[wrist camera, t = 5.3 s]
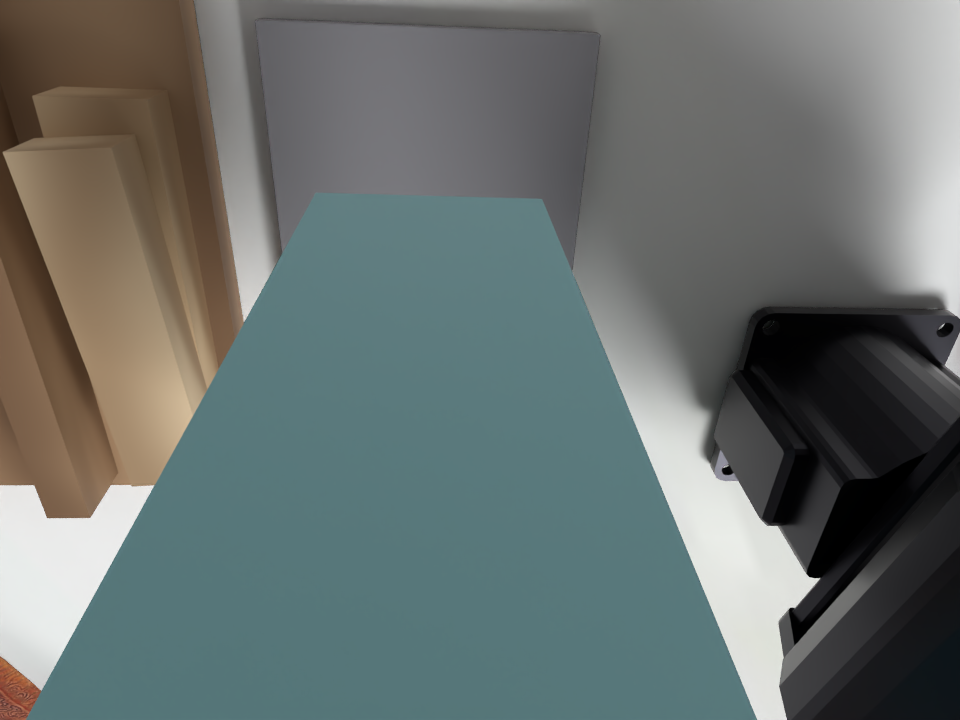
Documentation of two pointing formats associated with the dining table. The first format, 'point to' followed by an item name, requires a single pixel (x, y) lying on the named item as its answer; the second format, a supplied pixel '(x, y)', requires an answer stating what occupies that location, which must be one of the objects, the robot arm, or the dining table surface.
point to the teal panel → (406, 503)
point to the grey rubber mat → (427, 113)
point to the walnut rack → (18, 259)
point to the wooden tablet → (15, 693)
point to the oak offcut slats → (122, 260)
